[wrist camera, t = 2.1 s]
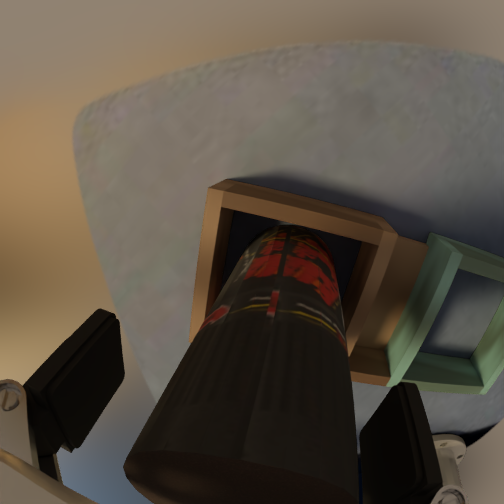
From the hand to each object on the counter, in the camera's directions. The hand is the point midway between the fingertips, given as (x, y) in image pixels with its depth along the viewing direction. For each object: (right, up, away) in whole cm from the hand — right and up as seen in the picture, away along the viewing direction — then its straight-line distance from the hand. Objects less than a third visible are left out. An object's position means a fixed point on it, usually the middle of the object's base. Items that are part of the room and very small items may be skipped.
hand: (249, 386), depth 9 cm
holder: (+9, +2, +9) cm, 13 cm away
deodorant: (+2, +3, +10) cm, 11 cm away
